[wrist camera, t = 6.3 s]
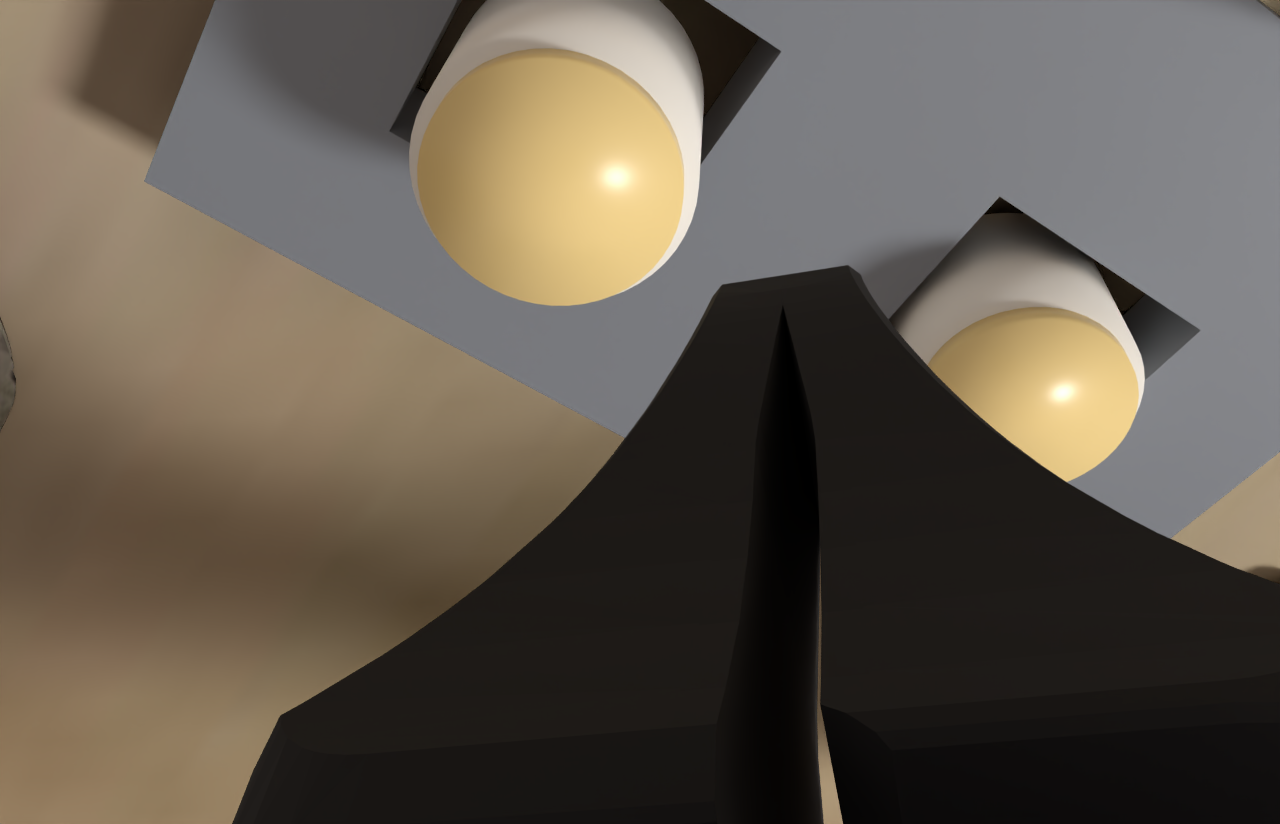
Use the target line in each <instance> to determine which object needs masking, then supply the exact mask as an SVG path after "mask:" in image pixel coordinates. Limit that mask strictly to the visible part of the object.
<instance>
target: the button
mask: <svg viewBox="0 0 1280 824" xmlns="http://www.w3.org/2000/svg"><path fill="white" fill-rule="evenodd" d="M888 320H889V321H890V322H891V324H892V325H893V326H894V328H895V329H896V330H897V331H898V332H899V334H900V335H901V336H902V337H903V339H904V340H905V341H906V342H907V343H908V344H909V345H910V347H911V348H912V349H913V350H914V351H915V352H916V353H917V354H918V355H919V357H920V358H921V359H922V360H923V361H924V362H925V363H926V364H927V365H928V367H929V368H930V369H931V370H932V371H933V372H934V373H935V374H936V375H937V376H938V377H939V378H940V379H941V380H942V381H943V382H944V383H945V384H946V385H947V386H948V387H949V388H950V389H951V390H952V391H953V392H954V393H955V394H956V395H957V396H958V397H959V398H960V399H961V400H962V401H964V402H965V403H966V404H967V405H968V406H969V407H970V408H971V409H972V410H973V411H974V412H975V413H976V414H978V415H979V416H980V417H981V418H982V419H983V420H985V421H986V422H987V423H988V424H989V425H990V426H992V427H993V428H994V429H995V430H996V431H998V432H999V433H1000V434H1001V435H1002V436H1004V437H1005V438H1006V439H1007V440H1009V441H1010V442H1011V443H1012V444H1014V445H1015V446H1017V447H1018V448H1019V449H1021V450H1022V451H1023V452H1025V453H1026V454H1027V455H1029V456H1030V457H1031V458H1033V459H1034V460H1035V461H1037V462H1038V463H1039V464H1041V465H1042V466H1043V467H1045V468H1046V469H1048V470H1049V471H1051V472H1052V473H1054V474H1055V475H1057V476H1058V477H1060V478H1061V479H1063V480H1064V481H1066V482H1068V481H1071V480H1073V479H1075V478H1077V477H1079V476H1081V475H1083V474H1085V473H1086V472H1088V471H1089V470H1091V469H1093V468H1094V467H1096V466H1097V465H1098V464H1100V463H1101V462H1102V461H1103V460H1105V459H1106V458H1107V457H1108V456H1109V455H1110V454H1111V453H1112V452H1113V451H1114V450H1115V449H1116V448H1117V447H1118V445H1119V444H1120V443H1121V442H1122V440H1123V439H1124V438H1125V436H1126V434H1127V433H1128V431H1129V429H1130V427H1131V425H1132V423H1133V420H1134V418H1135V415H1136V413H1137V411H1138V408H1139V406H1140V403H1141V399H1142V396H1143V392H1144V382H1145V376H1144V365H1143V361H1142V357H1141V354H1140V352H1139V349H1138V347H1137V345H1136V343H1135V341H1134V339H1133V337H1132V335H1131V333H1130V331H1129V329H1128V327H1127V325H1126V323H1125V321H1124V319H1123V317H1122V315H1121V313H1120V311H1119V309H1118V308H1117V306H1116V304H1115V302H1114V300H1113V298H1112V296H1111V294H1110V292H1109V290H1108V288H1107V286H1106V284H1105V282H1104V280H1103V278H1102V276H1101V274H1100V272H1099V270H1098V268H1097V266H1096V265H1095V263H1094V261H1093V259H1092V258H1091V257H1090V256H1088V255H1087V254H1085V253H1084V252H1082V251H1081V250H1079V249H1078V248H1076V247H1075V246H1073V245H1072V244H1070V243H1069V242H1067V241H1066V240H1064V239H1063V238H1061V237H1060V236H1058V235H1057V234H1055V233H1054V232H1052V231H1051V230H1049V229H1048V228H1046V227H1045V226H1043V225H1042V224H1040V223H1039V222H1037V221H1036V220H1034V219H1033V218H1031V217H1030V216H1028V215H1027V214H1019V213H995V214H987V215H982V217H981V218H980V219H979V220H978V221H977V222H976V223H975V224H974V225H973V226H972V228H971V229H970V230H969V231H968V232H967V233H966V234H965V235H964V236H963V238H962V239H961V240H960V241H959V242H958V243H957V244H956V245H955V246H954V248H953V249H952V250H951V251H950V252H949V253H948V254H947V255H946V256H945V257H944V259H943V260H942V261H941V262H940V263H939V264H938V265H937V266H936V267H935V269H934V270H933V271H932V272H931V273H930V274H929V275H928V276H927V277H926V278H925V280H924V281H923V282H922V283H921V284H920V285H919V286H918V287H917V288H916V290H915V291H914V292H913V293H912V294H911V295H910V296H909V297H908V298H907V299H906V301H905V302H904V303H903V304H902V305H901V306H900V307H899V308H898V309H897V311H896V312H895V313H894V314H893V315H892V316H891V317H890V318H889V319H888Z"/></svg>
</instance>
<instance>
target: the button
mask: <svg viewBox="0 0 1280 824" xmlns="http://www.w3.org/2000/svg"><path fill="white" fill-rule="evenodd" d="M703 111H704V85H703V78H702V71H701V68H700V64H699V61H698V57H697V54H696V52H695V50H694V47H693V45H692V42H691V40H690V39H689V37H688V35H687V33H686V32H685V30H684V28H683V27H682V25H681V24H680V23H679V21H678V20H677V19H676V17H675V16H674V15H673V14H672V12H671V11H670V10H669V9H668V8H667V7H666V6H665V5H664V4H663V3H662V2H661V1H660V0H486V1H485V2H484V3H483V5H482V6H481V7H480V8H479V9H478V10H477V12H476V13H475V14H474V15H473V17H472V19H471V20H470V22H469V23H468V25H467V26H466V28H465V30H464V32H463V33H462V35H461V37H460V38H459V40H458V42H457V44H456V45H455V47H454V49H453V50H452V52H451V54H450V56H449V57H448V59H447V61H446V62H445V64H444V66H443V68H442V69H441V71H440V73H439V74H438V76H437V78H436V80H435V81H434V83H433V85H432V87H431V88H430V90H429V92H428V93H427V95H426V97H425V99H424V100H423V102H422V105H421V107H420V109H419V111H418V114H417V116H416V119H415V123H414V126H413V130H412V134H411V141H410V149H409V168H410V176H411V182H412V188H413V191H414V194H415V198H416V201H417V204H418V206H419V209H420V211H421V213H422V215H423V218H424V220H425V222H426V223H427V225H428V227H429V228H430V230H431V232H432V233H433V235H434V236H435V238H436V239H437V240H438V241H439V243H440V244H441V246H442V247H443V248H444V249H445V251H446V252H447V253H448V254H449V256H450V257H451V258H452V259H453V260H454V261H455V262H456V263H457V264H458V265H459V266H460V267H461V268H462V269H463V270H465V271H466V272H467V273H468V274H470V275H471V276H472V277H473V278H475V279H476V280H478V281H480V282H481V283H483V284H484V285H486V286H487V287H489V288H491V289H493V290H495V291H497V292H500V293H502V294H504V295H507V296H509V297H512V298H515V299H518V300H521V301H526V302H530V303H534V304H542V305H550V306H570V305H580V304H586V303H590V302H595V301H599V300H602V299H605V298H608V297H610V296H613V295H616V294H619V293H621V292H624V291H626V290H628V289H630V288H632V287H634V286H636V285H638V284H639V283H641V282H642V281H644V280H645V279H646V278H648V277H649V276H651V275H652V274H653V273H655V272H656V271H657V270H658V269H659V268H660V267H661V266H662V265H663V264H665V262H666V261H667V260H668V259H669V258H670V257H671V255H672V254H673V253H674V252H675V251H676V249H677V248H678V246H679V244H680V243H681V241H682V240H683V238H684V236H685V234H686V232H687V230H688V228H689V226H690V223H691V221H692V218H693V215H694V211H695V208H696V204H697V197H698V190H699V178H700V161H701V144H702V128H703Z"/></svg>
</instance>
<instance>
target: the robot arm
mask: <svg viewBox="0 0 1280 824" xmlns="http://www.w3.org/2000/svg"><path fill="white" fill-rule="evenodd" d="M820 552H821V603H822V637H821V699H820V705H821V710H822V716H823V721H824V726H825V731H826V737H827V742H828V747H829V752H830V757H831V763H832V768H833V773H834V778H835V783H836V789H837V794H838V799H839V804H840V810H841V815H842V820H843V824H1280V584H1277V583H1275V582H1272V581H1269V580H1266V579H1264V578H1261V577H1258V576H1256V575H1253V574H1250V573H1247V572H1245V571H1242V570H1239V569H1237V568H1234V567H1232V566H1229V565H1227V564H1225V563H1222V562H1220V561H1218V560H1215V559H1213V558H1211V557H1209V556H1207V555H1205V554H1202V553H1200V552H1198V551H1196V550H1194V549H1192V548H1189V547H1187V546H1185V545H1183V544H1181V543H1179V542H1176V541H1174V540H1172V539H1170V538H1168V537H1166V536H1163V535H1161V534H1159V533H1157V532H1155V531H1153V530H1151V529H1149V528H1147V527H1145V526H1143V525H1141V524H1139V523H1138V522H1136V521H1134V520H1132V519H1130V518H1128V517H1126V516H1124V515H1122V514H1121V513H1119V512H1117V511H1116V510H1114V509H1112V508H1110V507H1109V506H1107V505H1105V504H1103V503H1102V502H1100V501H1098V500H1096V499H1095V498H1093V497H1091V496H1090V495H1088V494H1086V493H1084V492H1083V491H1081V490H1079V489H1077V488H1076V487H1074V486H1072V485H1071V484H1069V483H1067V482H1066V481H1064V480H1063V479H1061V478H1060V477H1058V476H1057V475H1055V474H1054V473H1052V472H1051V471H1049V470H1048V469H1046V468H1045V467H1043V466H1042V465H1041V464H1039V463H1038V462H1037V461H1035V460H1034V459H1033V458H1031V457H1030V456H1029V455H1027V454H1026V453H1025V452H1023V451H1022V450H1021V449H1019V448H1018V447H1017V446H1015V445H1014V444H1012V443H1011V442H1010V441H1009V440H1007V439H1006V438H1005V437H1004V436H1002V435H1001V434H1000V433H999V432H998V431H996V430H995V429H994V428H993V427H992V426H990V425H989V424H988V423H987V422H986V421H985V420H983V419H982V418H981V417H980V416H979V415H978V414H976V413H975V412H974V411H973V410H972V409H971V408H970V407H969V406H968V405H967V404H966V403H965V402H964V401H962V400H961V399H960V398H959V397H958V396H957V395H956V394H955V393H954V392H953V391H952V390H951V389H950V388H949V387H948V386H947V385H946V384H945V383H944V382H943V381H942V380H941V379H940V378H939V377H938V376H937V375H936V374H935V373H934V372H933V371H932V370H931V369H930V368H929V367H928V365H927V364H926V363H925V362H924V361H923V360H922V359H921V358H920V357H919V355H918V354H917V353H916V352H915V351H914V350H913V349H912V348H911V347H910V345H909V344H908V343H907V342H906V341H905V340H904V339H903V337H902V336H901V335H900V334H899V332H898V331H897V330H896V329H895V328H894V326H893V325H892V324H891V322H890V321H889V320H888V318H887V317H886V316H885V314H884V313H883V312H882V310H881V309H880V307H879V306H878V305H877V303H876V302H875V300H874V299H873V297H872V295H871V294H870V292H869V291H868V289H867V287H866V285H865V283H864V281H863V279H862V276H861V274H860V273H858V272H857V271H855V270H854V269H853V268H851V267H850V266H849V265H845V266H839V267H832V268H826V269H819V270H813V271H806V272H800V273H793V274H787V275H780V276H774V277H767V278H761V279H755V280H748V281H742V282H735V283H729V284H722V285H721V286H720V288H719V289H718V290H717V291H716V293H715V294H714V295H713V297H712V299H711V301H710V303H709V305H708V307H707V308H706V310H705V312H704V314H703V316H702V318H701V320H700V322H699V324H698V326H697V327H696V329H695V331H694V333H693V335H692V337H691V338H690V340H689V342H688V344H687V345H686V347H685V349H684V350H683V352H682V354H681V356H680V357H679V359H678V361H677V362H676V364H675V365H674V367H673V369H672V370H671V372H670V373H669V375H668V376H667V378H666V380H665V381H664V383H663V384H662V386H661V388H660V389H659V391H658V392H657V394H656V395H655V397H654V399H653V400H652V402H651V403H650V405H649V406H648V407H647V409H646V410H645V412H644V413H643V414H642V416H641V417H640V419H639V420H638V421H637V423H636V424H635V425H634V427H633V428H632V429H631V431H630V432H629V433H628V435H627V436H626V437H625V439H624V440H623V442H622V443H621V444H620V446H619V447H618V448H617V450H616V451H615V452H614V454H613V455H612V456H611V458H610V459H609V460H608V461H607V463H606V464H605V465H604V466H603V467H602V469H601V470H600V471H599V472H598V473H597V475H596V476H595V477H594V478H593V479H592V481H591V482H590V483H589V484H588V485H587V486H586V487H585V489H584V490H583V491H582V492H581V493H580V494H579V495H578V496H577V497H576V498H575V499H574V500H573V501H572V502H571V503H570V504H569V505H568V507H567V508H566V509H565V510H564V511H563V512H562V513H561V514H560V515H559V516H558V517H557V518H556V519H555V520H554V521H553V522H552V523H551V524H550V525H548V526H547V527H546V528H545V529H544V530H543V531H542V532H541V533H539V534H538V535H537V536H536V537H535V538H534V539H533V540H532V541H530V542H529V543H528V544H527V545H526V546H525V547H524V548H523V549H521V550H520V551H519V552H518V553H517V554H516V555H515V556H514V557H512V558H511V559H510V560H509V561H508V562H507V563H506V564H505V565H503V566H502V567H501V568H500V569H499V570H498V571H497V572H496V573H494V574H493V575H492V576H491V577H490V578H489V579H487V580H486V581H485V582H484V583H482V584H481V585H480V586H479V587H477V588H476V589H475V590H473V591H472V592H471V593H469V594H468V595H467V596H466V597H464V598H463V599H462V600H460V601H459V602H458V603H456V604H455V605H454V606H453V607H451V608H450V609H449V610H447V611H446V612H444V613H443V614H442V615H440V616H439V617H437V618H436V619H435V620H433V621H432V622H430V623H429V624H428V625H426V626H425V627H423V628H422V629H420V630H419V631H418V632H416V633H415V634H413V635H412V636H411V637H409V638H408V639H406V640H405V641H403V642H402V643H400V644H399V645H397V646H396V647H394V648H393V649H391V650H390V651H388V652H387V653H385V654H384V655H382V656H380V657H379V658H377V659H375V660H374V661H372V662H370V663H369V664H367V665H365V666H364V667H362V668H360V669H359V670H357V671H355V672H354V673H352V674H350V675H349V676H347V677H345V678H344V679H342V680H341V681H339V682H337V683H336V684H334V685H332V686H331V687H329V688H327V689H326V690H324V691H322V692H321V693H319V694H317V695H316V696H314V697H312V698H311V699H309V700H307V701H306V702H304V703H302V704H300V705H299V706H297V707H295V708H293V709H291V710H289V711H288V712H286V713H284V714H282V715H281V716H280V717H279V719H278V721H277V723H276V726H275V728H274V730H273V732H272V734H271V736H270V738H269V740H268V742H267V744H266V746H265V748H264V750H263V752H262V754H261V756H260V758H259V760H258V762H257V764H256V766H255V768H254V770H253V773H252V775H251V778H250V780H249V783H248V785H247V788H246V790H245V793H244V796H243V798H242V801H241V803H240V806H239V808H238V811H237V813H236V816H235V818H234V821H233V823H232V824H824V822H823V810H822V798H821V786H820V774H819V762H818V735H817V688H818V640H819V592H820Z"/></svg>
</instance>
